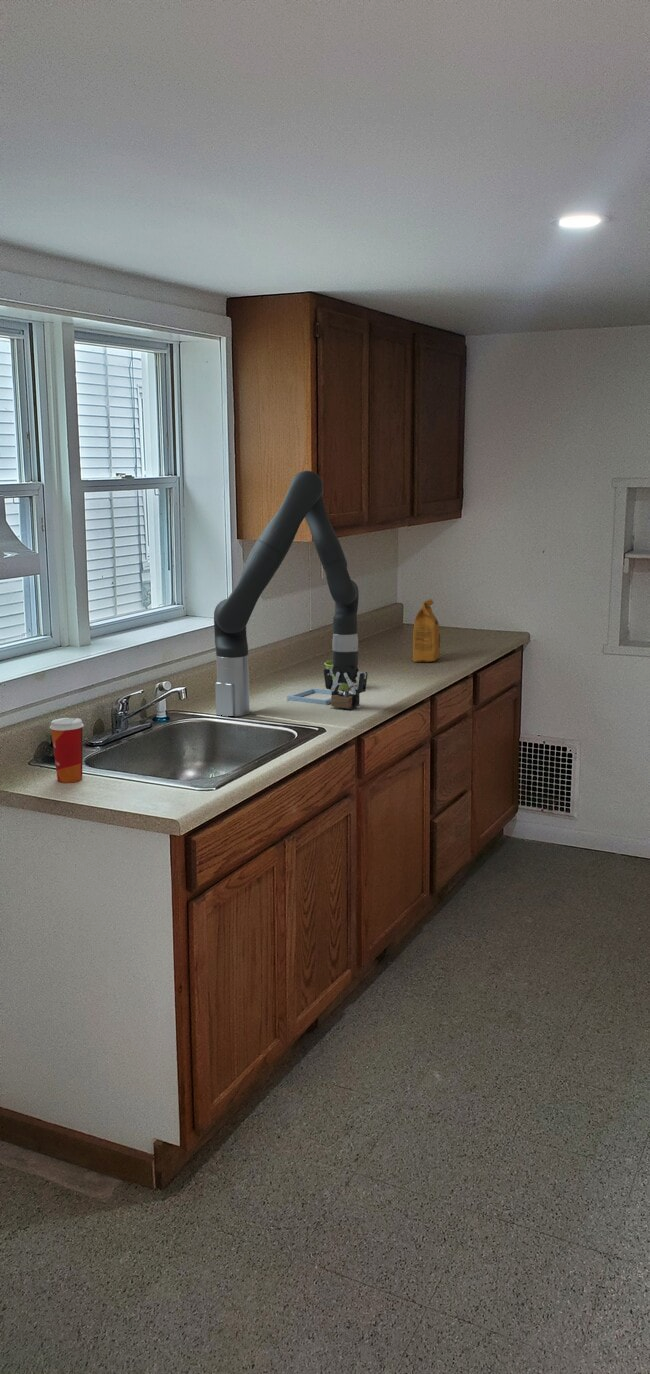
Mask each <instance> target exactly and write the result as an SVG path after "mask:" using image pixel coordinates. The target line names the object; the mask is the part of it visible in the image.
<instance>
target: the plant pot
mask: <svg viewBox="0 0 650 1374" xmlns="http://www.w3.org/2000/svg"><path fill="white" fill-rule="evenodd" d="M323 665H325V669H327V668H331V669H332V668H333V663H332V660H328V661H326V662H324V664H323ZM332 678H333V681H334V679H335V676H334V674H333V675H332ZM349 689H350V687H349V685H348V684H346V683H342V684H341V685H340V687H339V689H338V691H343V690H349Z"/></svg>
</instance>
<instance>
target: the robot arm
mask: <svg viewBox="0 0 650 1374" xmlns="http://www.w3.org/2000/svg"><path fill="white" fill-rule="evenodd" d="M323 491H324V483H323V479H322V478H321V476H319V474H318V473H316V472H315V471H313V470H312V471H311V470H302V471H299V472H298V473H297V474H295V475H294V476H293V478H292V480H291V482H290V485H289V487H288V490H287V492H286V495H285V497H284V499H283V501H282V503H281V505H280V507H279V508H278V509H277V511H276V513H275V514H274V516H273V517H272V518H271V520H270V521H269V522H268V523H267V525H266V526H265V527H264V529H263V530H262V532H261V533H260V535H259V536H258V538H257V540H256V541H255V543H254V544H253V547H252V548H251V550H250V552H249V554H248V556H247V558H246V561H245V563H244V566H243V568H242V572H241V574H240V577H239V580H238V581H237V583H236V585H235V587H234V589H233V590H232V591H231V593H230V595H229V596H228V597H227V598H225V599H223V600H221V601H220V602H219V603H217V605H216V606H215V608H214V612H213V629H214V630H213V631H214V646H215V653H216V654H215V655H216V656H215V657H216V658H215V659H216V663H215V664H216V682H215V684H214V687H215V693H214V694H215V715H216V714H217V715H216V716H221V715H222V716H223V717H228V716H235V717H242V716H246V715H249V714H250V713H251V709H250V708H251V707H250V705H251V704H250V700H251V699H250V673H249V668H250V667H249V646H248V637H247V624H248V623H249V621H250V618H251V615H252V613H253V611H254V609H255V606H256V604H257V602H258V600H259V599H260V597H261V595H262V594H263V592H264V590H265V589H266V588H267V586H268V585H269V583H270V582H271V581H272V578H273V577H274V576H275V574H276V573H277V571H278V569H279V568H280V566H281V565H282V562H284V560H285V558H286V556H287V555H288V553H289V550H290V549H291V546H292V544H293V542H294V539H295V538H296V535H297V532H298V530H299V529H300V526H301V524H302V522H303V521H304V519H305V521H306V523H307V525H308V528H309V531H310V532H309V533H310V534H311V537H312V541H313V543H314V547H315V549H316V553H317V555H318V558H319V561H320V564H321V566H322V569H323V570H324V573H325V577H326V583H327V585H328V590H329V593H330V595H331V598H332V600H333V601H334V604H335V605H334V608H335V609H334V611H335V612H334V615H333V620H332V633H333V634H332V649H331V650H332V651H331V653H332V655H331V656H332V658H331V659H332V660H331V661H332V663H333V668H332V669H331V668H327V669H326V668H324V669H323V677H324V685H325V690H331V691H332V695H331V696H333V695H337V694H339V690H338V689H339V687H340V685H341V684H342V683H346V684H348V685H349V689H350V690H351V694H352V707H356V706H359V705H360V694H361V693H365V692H366V690H367V682H368V672H367V671H359V668H358V667H359V637H358V608H359V599H360V598H359V593H360V592H359V586H358V585H357V583H356V582H355V581H354V580H352V579H351V576H350V574H349V571H348V562H347V559H346V556H345V554H344V550H343V548H342V546H341V545H342V544H341V543H340V540H339V538H338V536H337V533H336V532H335V530H334V528H333V525H332V524H331V522H330V519H329V516H328V514H327V510H326V507H325V503H324V499H323V498H324V497H323ZM333 674H334V676H335V679H334V681H333V678H332V675H333ZM358 704H359V705H358Z"/></svg>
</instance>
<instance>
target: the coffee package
mask: <svg viewBox="0 0 650 1374" xmlns="http://www.w3.org/2000/svg"><path fill="white" fill-rule="evenodd" d="M434 603H435V602H434V600H433V599H430V598H429V599H427V600H425V601H423V603H422V606H421V608H420V609H419V611H418V612H417V613H416V616H415V618H414V623H413V625H414V626H413V631H412V632H413V633H412V662H413V663H429V662H431V663H432V662H435V661H436V660H438V659H439V657H440V655H441V652H440V649H441V628H440V624H439V621H438V619H437V617H436V616H435V614H434V613H433V609H432V607H431V606H432V605H433V604H434Z"/></svg>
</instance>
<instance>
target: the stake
mask: <svg viewBox="0 0 650 1374" xmlns="http://www.w3.org/2000/svg"><path fill="white" fill-rule="evenodd" d="M342 692H343V697H349V692H350V690H349V689H348V690H342ZM362 707H363V705H358V706H356V707H352V708H349V709H348V708H341V707H333V706H331V707H329V709H331V710H339V711H346V712H347V711H348V712H351V711H354V710H357V709H359V708H362Z"/></svg>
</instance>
